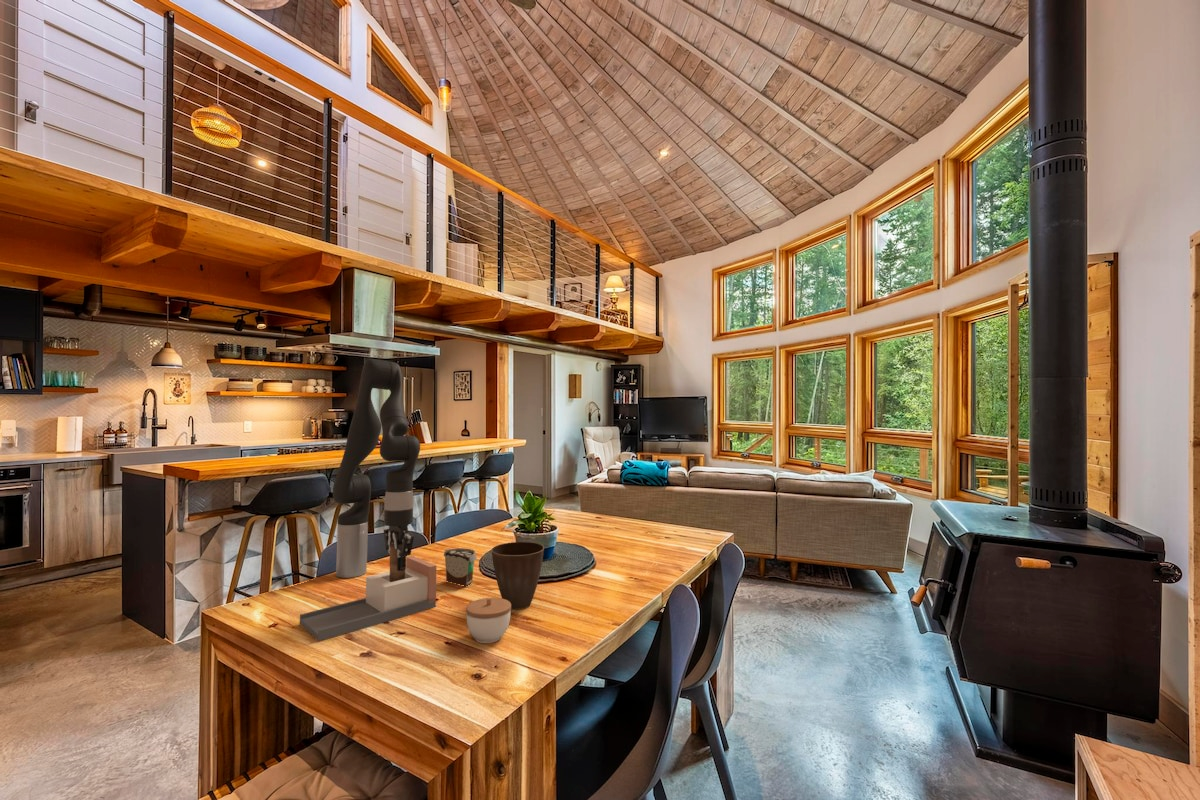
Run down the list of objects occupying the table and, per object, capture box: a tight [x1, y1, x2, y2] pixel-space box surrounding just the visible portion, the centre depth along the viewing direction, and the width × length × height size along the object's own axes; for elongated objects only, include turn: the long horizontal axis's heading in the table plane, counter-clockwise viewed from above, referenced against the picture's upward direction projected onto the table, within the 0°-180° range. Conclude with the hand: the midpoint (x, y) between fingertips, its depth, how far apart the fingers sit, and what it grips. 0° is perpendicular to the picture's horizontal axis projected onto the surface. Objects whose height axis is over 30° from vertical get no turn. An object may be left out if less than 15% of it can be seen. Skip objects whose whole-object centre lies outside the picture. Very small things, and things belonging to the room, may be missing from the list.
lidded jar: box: [465, 597, 512, 644], centre depth 120 cm, size 11×11×9 cm
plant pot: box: [491, 541, 545, 610], centre depth 142 cm, size 15×15×16 cm
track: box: [299, 555, 437, 642], centre depth 133 cm, size 14×30×12 cm, turn 137°
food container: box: [443, 547, 477, 586], centre depth 160 cm, size 12×6×10 cm, turn 58°
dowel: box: [389, 543, 405, 582], centre depth 138 cm, size 4×4×10 cm
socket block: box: [365, 568, 428, 612], centre depth 138 cm, size 12×12×7 cm
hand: (397, 568), depth 138 cm, fingers closed on dowel, 4 cm apart
